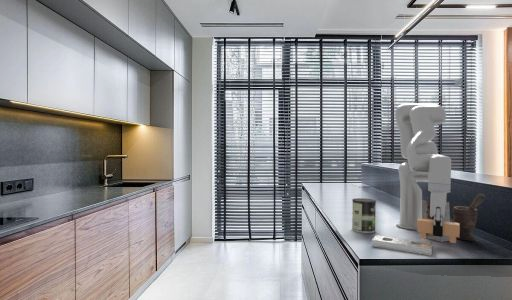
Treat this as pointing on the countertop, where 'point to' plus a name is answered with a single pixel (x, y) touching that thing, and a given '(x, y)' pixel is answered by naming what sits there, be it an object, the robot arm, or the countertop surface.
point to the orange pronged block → (448, 227)
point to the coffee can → (363, 215)
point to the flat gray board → (402, 245)
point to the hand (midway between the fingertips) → (437, 234)
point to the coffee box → (427, 216)
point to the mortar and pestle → (467, 218)
